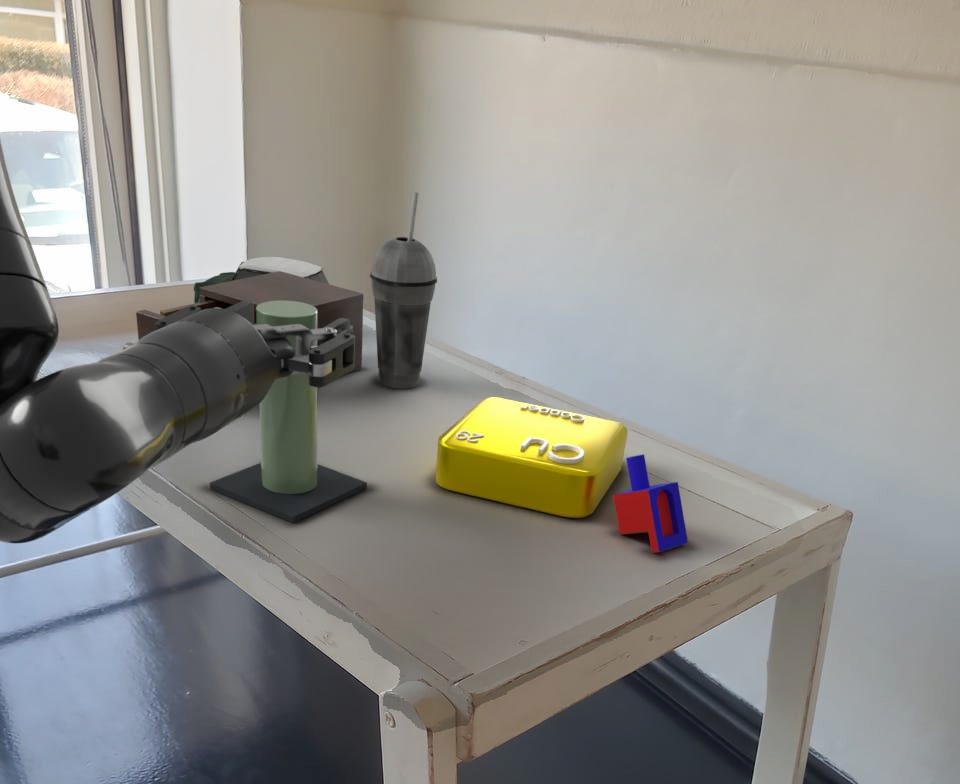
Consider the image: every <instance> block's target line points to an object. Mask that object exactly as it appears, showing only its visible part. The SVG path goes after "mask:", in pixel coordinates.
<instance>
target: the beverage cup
mask: <svg viewBox="0 0 960 784" xmlns="http://www.w3.org/2000/svg"><path fill="white" fill-rule="evenodd" d="M418 201H419V192H416V191H413V195H412V203H411V211H410V218H409V225H408V226H409V227H408V234H407V236H398V237H394V238H392V239H389V240H388V241H386V242H385V243H383V245H381V247H380V248H379V249H378V251H377V252H376V254H375V256H374V259H373V261H372V265H371V272H370V275H369V277H370V279H371V290H372V295H373V297H374V298H373V299H374V318H375V337H376V357H377V368H378V376H379V378H378V379H379V380H378V381H379V383H380V385H383V386H385V387H388V388H393V389H413V388H416V387H418V386H419V383H420V377H421V372H422V367H423V361H424V360H423V359H424V353H425V346H426V339H427V332H428V324H429V317H430V311H431V310H430V309H431V303H432V301H433V298H434V294H435V291H436V284H437V283H438V277H437V269H436V263H435V259H434V258H433V255H432V253H431V252H430V251H429V249H428V247H426V246H425V245H424V244H423V243H422V242H420V241H419V240H417V239H415V238H414V231H415V225H416V217H417V208H418Z"/></svg>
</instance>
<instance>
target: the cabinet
mask: <svg viewBox="0 0 960 784" xmlns="http://www.w3.org/2000/svg"><path fill="white" fill-rule="evenodd" d="M199 292H200V302H203V301H208V300H213V299H216V300H219V301H222V302H226V303H229V304H232V305H235V304H237V303H239V302H241V301H249V302H252V303H253V305H254V311H256V307H257V305H259V304H261V303H264V302H269V301H296V302H302V303H306V304H309V305H312V306H314V307H315V308H316V309H317V311H318V329H320V328H323V327H325V326H327V325H328V324H330V323H332V322H333V321H335V320H337V319H339V318H344V319H349V321H350V325H352V326H353V335H354V336H355V361H354V369H352V370H351V371H349V372H347V373H346V374H344V375H343V376H345V375H349V374H351V373H354V372H357V371H360V370H362V367H363V329H364V328H363V325H364V324H363V323H364V293H362V292H359V291H355V290H351V289H347V288H344V287H340V286H338V285H333V284H330V283H329V284H326V283H322V282H318V281H315V280H311V279H307V278H304V277H300V276H296V275H293V274H289V273H285V272H282V271H278V272H273V273H268V274H263V275H258V276H253V277H248V278H243V279H238V280H234V281H229V282H224V283H219V284H214V285H209V286H204V287H199ZM319 345H321V340H318V346H319Z"/></svg>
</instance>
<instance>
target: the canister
mask: <svg viewBox="0 0 960 784" xmlns="http://www.w3.org/2000/svg"><path fill="white" fill-rule="evenodd" d="M256 324H257V325H260V324H268V325H270V326H271V327H274V326H284V325H294V324H301V325H303V326H305V327H307V328H308V329H318V311H317V309H316V308H315V307H314V306H312V305H309V304H306V303H302V302H296V301H269V302H264V303H261V304H259V305H257V307H256ZM287 339H288V341H289V342H290V344H291V346H292V347H293V349H294V351H295V355H296V339H295V336H293V337H287ZM311 346H318V340H314V341H313V342H312V344H311ZM318 388H319V387H313V386H310V385H309V375H308V374H295V375H290V376H287V377H283V378H279V379H276V380H275V381H274V382H273V384H272V386H271V388H270V390H269V391H268V393H267V395H266V396H265V398H264V399H263V400H262V401H261V403H259V404H258V409H259V411H258V412H259V414H258V415H259V445H260V463H261V480H262V485H263V486H264V487H265V488H266V489H268V490H270V491H272V492H276V493H281V494H300V493H305V492H308V491H311V490H313V489H314V488H315V487H316V486H317V464H318V449H319V448H318V445H319V444H318V443H319V441H318V434H319V433H318V432H319V431H318V430H319V429H318V428H319V427H318V424H319V423H318V421H319V420H318V417H319V416H318V415H319V414H318V413H319V412H318V407H319V406H318V395H319V394H318V392H319V391H318Z"/></svg>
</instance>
